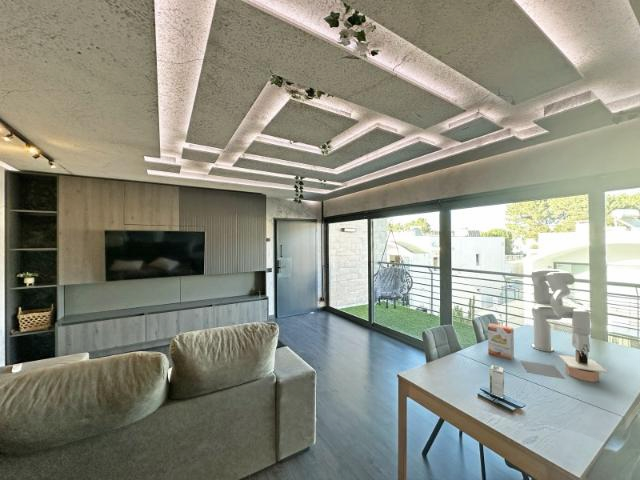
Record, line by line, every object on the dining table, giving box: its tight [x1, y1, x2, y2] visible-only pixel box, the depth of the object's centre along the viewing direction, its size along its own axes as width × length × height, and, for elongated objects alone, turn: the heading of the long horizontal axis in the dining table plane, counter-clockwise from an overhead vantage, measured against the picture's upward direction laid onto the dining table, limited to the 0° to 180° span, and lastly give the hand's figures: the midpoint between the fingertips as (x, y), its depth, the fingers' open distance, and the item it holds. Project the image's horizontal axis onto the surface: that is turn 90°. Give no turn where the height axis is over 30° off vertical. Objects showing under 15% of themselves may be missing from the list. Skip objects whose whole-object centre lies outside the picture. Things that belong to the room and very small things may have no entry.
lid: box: [558, 350, 609, 374], centre depth 153 cm, size 16×16×7 cm
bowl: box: [565, 363, 600, 383], centre depth 153 cm, size 13×13×6 cm
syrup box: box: [489, 364, 505, 398], centre depth 136 cm, size 6×6×14 cm
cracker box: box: [487, 323, 515, 360], centre depth 182 cm, size 14×6×21 cm, turn 37°
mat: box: [519, 359, 566, 380], centre depth 162 cm, size 18×18×1 cm
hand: (581, 361), depth 153 cm, fingers closed on lid, 4 cm apart
